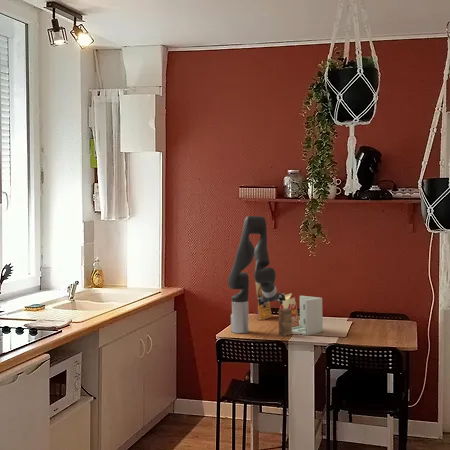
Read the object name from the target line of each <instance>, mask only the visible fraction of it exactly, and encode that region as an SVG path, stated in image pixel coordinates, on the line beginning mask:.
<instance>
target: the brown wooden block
mask: <svg viewBox="0 0 450 450" xmlns="http://www.w3.org/2000/svg"><path fill="white" fill-rule="evenodd" d="M290 334H293V333H292V312H291V309H288V308H284V309H280V308H279V309H278V336H280V335H281V337H286V336H287V335H288V336H291V335H290Z"/></svg>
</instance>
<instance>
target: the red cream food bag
mask: <svg viewBox="0 0 450 450" xmlns="http://www.w3.org/2000/svg"><path fill="white" fill-rule="evenodd" d="M292 294H293V293H292V292H291V293H288V294H284V295H285V299H286V300H285V301H283V304H282V305H281V304H280V307H279V309H284V308H288V309H291V312H292V327H297V326H300V317H299V313H298V307H297V302H296V298H295V296H293V295H292Z"/></svg>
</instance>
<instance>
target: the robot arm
mask: <svg viewBox="0 0 450 450" xmlns="http://www.w3.org/2000/svg"><path fill="white" fill-rule="evenodd" d="M267 230H268V229H267V220H266V218H265V217H263V216H259V215H248V216H246V217H245V219H244V222H243V227H242V230H241V231H242V232H241V236H240V240H239V244H238V246H237V250H236V251H237V252H236V253H235V259H234V262H233V265H232V268H231V270H230V272H229V275H228V278H227V279H228V282H227V284H228V288H230V289H231V290H240V291H239V292H238V293H236V294H234V295H232V296H231V314H230V332H231V333H233V334H234V333H235V334H246V333H249V329H250V328H249V325H250V324H249V321H250V318H249V288H250V287H249V285H250V279H249V274H248V272H245V271H244V270H245V269H246V268H247V267H249V265H250V264H251V263H252V261H253V259H254V262H255V268H254V273H253V274H254V275H253V278H254V282H255V281H256V282H257V283H259V284H260V285H261V290H262V294H263V297H260V296H258V298H257V304H258V303H259V306H260V305H263V307H265V308H266V304H267V303H268V302H270V303H271V302H278V303H279V304H280V306H281V305H282V304H283V301H285V300H286V299H285V295H286V294H285V293H284V291H281V292H280V293H278V290H277V286H276V284H275V281H276V278H277V276H276V275H277V274H276V270H275V269H274V268H273V267H271V266H270V263H271V261H270V256H269V251H268V231H267ZM250 235H259V236H260V237H259V240H258V242H257V244H256V246H255V247H254V245H253V244H254V243H252V241H251V238H250ZM269 266H270V267H269ZM262 299H263V300H262Z"/></svg>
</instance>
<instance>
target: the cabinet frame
mask: <svg viewBox="0 0 450 450" xmlns="http://www.w3.org/2000/svg"><path fill="white" fill-rule="evenodd" d="M299 324H300V326H297V327H292V334H294V333H298V334H297V335H300V334H302V335H301V336H306V335H307V336H306V337H308V336H312V334H313V335H317V334H320V333H321V332H322V333H323V332H324V330H323V329H324V328H323V326H324V325H323V298H322V297H319V296H318V297H317V296H308V295H307V296H306V295H299Z"/></svg>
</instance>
